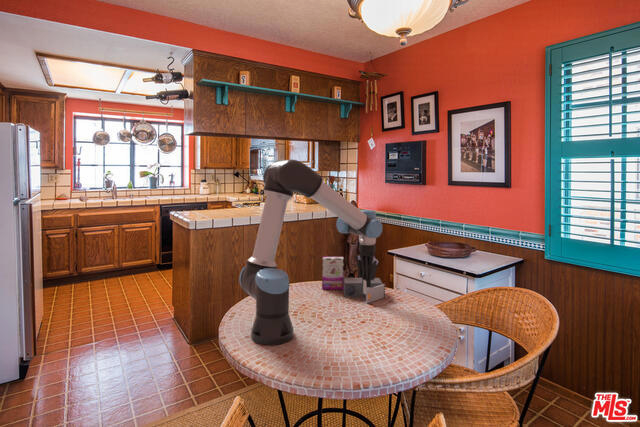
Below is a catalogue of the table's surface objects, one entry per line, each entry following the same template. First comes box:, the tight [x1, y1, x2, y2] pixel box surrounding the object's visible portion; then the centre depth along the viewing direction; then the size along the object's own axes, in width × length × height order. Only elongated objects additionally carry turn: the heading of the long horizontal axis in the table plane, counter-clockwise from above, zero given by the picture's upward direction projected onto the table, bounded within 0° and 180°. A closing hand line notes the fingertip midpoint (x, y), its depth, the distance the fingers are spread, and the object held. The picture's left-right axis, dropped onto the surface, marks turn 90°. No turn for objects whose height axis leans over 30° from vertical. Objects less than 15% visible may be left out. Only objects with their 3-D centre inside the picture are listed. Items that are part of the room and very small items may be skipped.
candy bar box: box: [321, 256, 345, 291], centre depth 184 cm, size 11×5×16 cm, turn 88°
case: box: [342, 277, 384, 298], centre depth 175 cm, size 18×11×8 cm, turn 91°
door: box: [365, 283, 386, 304], centre depth 167 cm, size 13×2×7 cm, turn 131°
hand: (366, 293), depth 168 cm, fingers closed
